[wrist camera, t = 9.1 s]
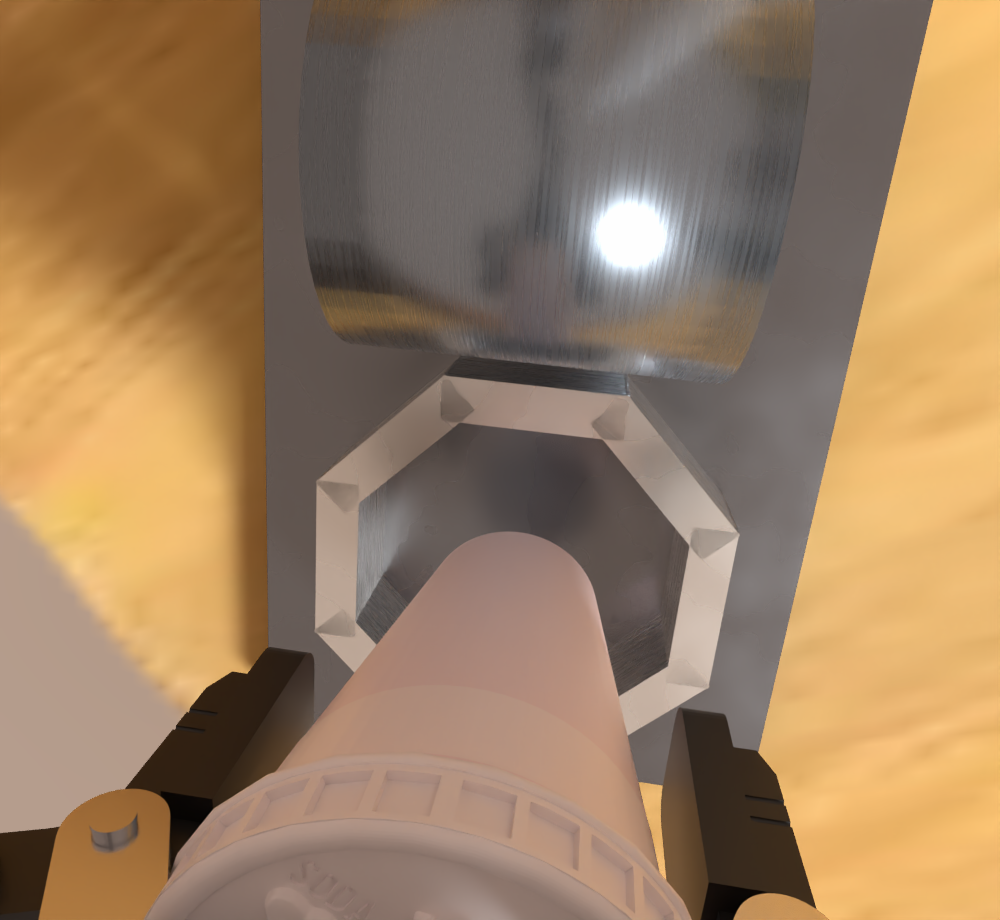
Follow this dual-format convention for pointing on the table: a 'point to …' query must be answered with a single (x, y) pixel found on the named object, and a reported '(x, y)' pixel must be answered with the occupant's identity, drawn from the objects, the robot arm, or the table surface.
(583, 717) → the smoothie
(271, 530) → the flat grey tray
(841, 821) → the table surface
